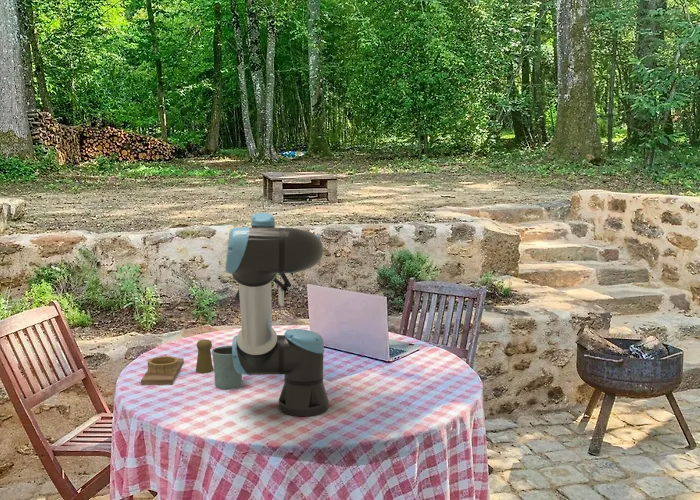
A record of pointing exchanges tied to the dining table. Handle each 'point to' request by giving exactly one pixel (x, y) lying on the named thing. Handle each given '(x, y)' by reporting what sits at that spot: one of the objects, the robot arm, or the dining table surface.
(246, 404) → the dining table surface
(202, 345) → the cork
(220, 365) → the grey green cup
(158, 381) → the board
